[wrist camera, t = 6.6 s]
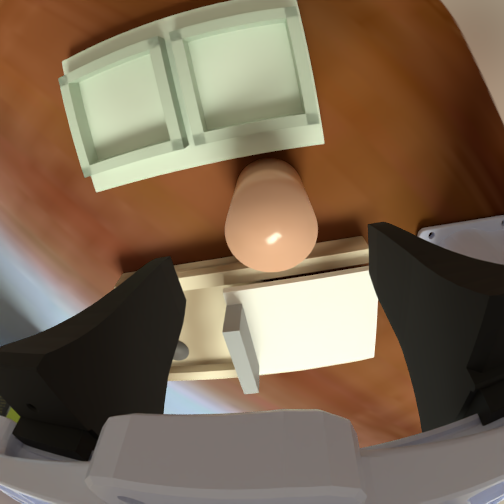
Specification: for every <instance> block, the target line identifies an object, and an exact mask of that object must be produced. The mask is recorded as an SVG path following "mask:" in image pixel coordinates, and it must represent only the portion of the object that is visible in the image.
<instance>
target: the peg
mask: <svg viewBox="0 0 504 504" xmlns="http://www.w3.org/2000/svg"><path fill="white" fill-rule="evenodd" d="M317 235H318V224H317V219H316V216H315V214H314V211H313V208H312V206H311V203H310V201H309V198H308V196H307V193H306V191H305V188H304V186H303V183H302V181H301V178H300V176H299V174H298V173H297V171H296V170H295V169H294V168H293V167H292V166H291V165H290V164H288V163H287V162H285V161H283V160H280V159H276V158H262V159H258V160H256V161H254V162H252V163H250V164H249V165H247V166H246V167H245V168H244V169H243V171H242V172H241V174H240V175H239V177H238V180H237V183H236V187H235V190H234V194H233V197H232V201H231V205H230V208H229V212H228V215H227V219H226V223H225V237H226V242H227V245H228V247H229V249H230V251H231V252H232V254H233V255H234V256H235V257H236V258H237V259H238V260H239V261H240V262H241V263H243V264H244V265H246V266H248V267H250V268H252V269H255V270H258V271H262V272H280V271H285V270H288V269H290V268H293V267H295V266H296V265H298V264H300V263H301V262H302V261H303V260H305V258H306V257H307V256H308V255H309V254H310V253H311V251H312V249H313V248H314V246H315V243H316V240H317Z"/></svg>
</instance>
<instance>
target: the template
mask: <svg viewBox="0 0 504 504" xmlns="http://www.w3.org/2000/svg"><path fill="white" fill-rule="evenodd" d="M366 263H369V246H368V245H367V243H366V241H365V240H364V238H363V236H358V237H352V238H345V239H339V240H333V241H326V242H320V243H315V246H314V248H313V249H312V251H311V253H310V254H309V255H308V256H307V257H306V258H305V260H303V261H302V262H301V263H300V264H298V265H296V266H295V267H293V268H290V269H288V270H285V271H280V272H262V271H258V270H255V269H252V268H250V267H248V266H246V265H244V264H243V263H241V262H240V261H239V260H238V259H237V258H236V257H235V256H231V257H225V258H218V259H212V260H205V261H199V262H193V263H186V264H180V265H174V268H175V271H176V273H177V276H178V279H179V282H180V284H181V287H182V290H183V292H184V295H185V298H186V300H187V301H186V309H185V316H184V323H183V326H182V330H181V333H180V337H179V340H178V344H177V347H176V351H175V354H174V357H173V361H172V364H171V368H170V372H169V376H168V381H183V380H205V379H221V378H235V377H238V375H237V373H236V370H235V367H234V364H233V362H232V359H231V356H230V353H229V350H228V348H227V345H226V342H225V339H224V336H223V333H222V331H223V324H224V318H225V312H226V302H225V299H224V296H223V288H228V287H235V286H242V285H249V284H256V283H263V280H265V279H272V278H278V277H285V276H292V275H298V274H304V273H311V272H317V271H323V270H330V269H336V268H342V267H348V266H354V265H360V264H366ZM135 272H136V271H135ZM135 272H129V273H123V274H122V276H121V277H120V279H119V280H118V282H117V283H116V285H115V286H114V288H116V287H117V286H119V285H120V284H121V283H122V282H124V281H125V280H126V279H128V278H129V277H130V276H131V275H133V274H134V273H135ZM363 360H365V359H363ZM358 361H360V360H358ZM352 362H355V361H352ZM347 363H349V362H347ZM341 364H344V363H341ZM335 365H338V364H335ZM330 366H332V365H330ZM323 367H326V366H323ZM317 368H320V367H317ZM310 369H313V368H310ZM303 370H306V369H303ZM296 371H299V370H296ZM289 372H292V371H289ZM280 373H284V372H280ZM272 374H275V373H272ZM263 375H267V374H263Z"/></svg>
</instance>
